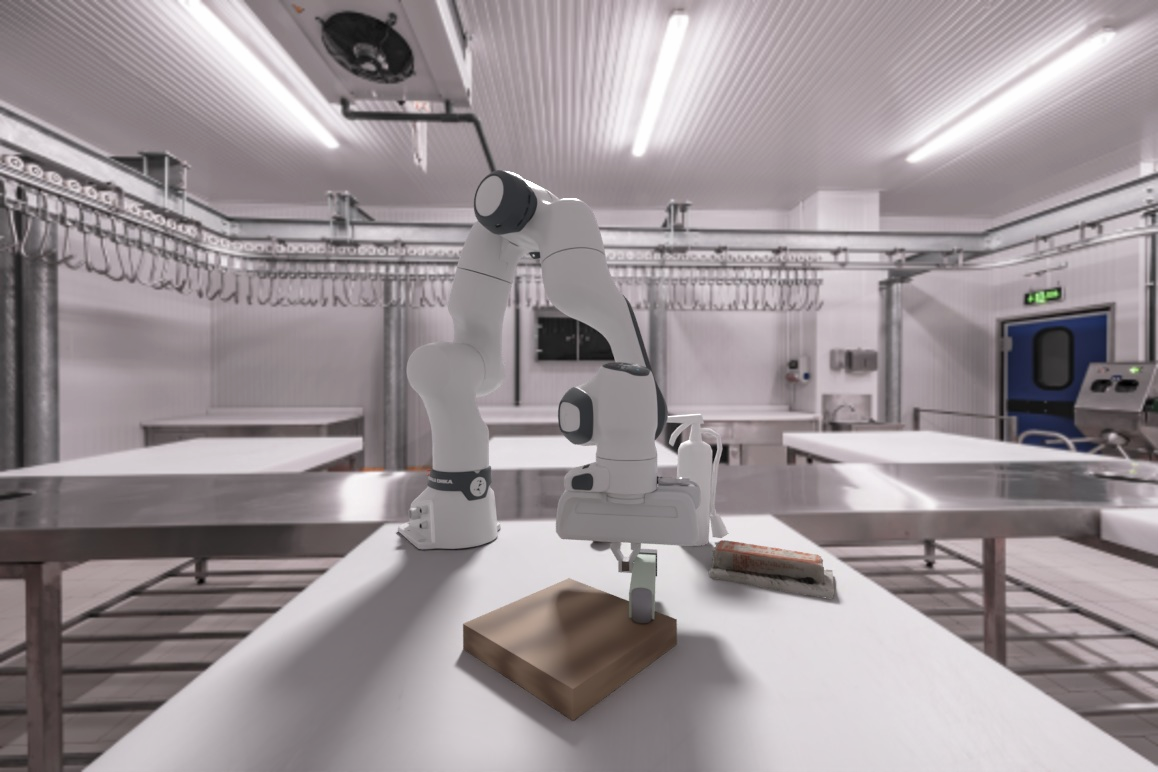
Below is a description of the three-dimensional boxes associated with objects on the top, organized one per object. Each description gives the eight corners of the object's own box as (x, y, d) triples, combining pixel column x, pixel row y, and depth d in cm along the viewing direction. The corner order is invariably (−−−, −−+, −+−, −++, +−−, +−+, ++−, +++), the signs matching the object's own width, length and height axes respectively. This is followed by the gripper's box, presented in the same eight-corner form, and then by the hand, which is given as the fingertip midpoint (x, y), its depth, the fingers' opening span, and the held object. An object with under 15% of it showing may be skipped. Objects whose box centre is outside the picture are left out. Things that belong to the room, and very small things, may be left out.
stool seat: (463, 648, 58) (463, 623, 58) (569, 598, 71) (569, 578, 71) (573, 721, 46) (573, 689, 46) (676, 644, 59) (676, 619, 59)
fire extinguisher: (732, 548, 92) (732, 415, 92) (666, 545, 93) (666, 415, 93) (726, 537, 99) (726, 412, 98) (665, 534, 100) (665, 412, 100)
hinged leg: (655, 626, 57) (655, 597, 57) (626, 623, 58) (626, 595, 58) (657, 572, 73) (657, 549, 73) (634, 570, 74) (634, 548, 74)
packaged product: (707, 550, 79) (719, 533, 87) (707, 580, 79) (719, 560, 87) (834, 569, 70) (833, 548, 79) (834, 603, 70) (833, 578, 79)
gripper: (698, 473, 72) (698, 567, 72) (561, 469, 75) (561, 559, 75) (702, 483, 65) (702, 585, 66) (552, 478, 69) (553, 575, 69)
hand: (626, 571), depth 71 cm, fingers closed
